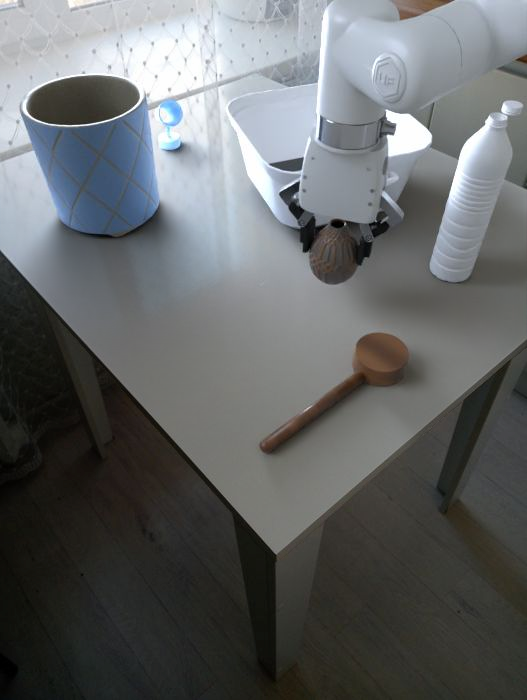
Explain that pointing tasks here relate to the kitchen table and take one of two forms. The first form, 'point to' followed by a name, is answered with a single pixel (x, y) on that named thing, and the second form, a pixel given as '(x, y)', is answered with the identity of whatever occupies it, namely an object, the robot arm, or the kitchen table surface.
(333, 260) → the vase
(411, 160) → the white plastic wash basin
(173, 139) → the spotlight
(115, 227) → the planter
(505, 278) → the kitchen table surface
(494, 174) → the water bottle
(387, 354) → the ladle
